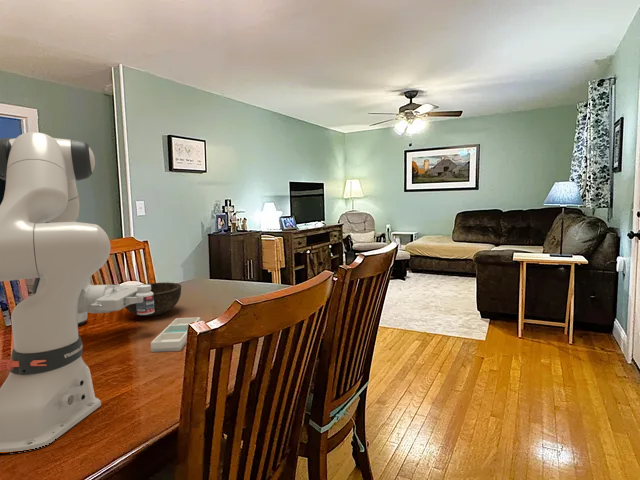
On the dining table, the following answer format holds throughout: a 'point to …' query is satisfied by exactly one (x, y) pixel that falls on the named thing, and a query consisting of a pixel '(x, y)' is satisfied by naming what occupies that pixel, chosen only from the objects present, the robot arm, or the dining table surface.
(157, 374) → the dining table surface
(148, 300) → the pill bottle
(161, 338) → the white plastic tray
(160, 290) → the bowl
